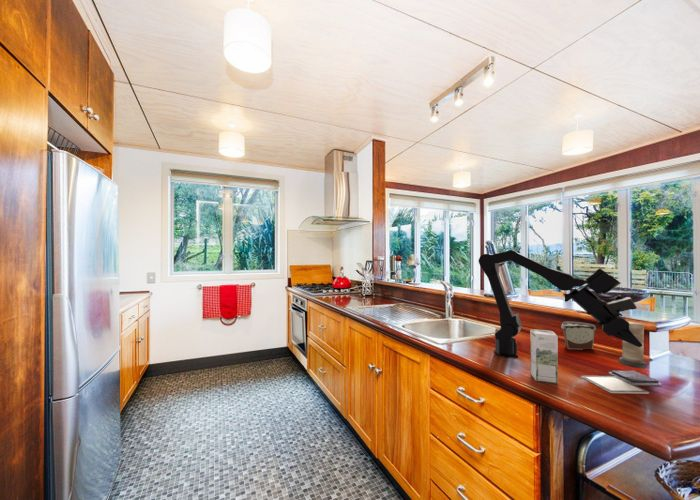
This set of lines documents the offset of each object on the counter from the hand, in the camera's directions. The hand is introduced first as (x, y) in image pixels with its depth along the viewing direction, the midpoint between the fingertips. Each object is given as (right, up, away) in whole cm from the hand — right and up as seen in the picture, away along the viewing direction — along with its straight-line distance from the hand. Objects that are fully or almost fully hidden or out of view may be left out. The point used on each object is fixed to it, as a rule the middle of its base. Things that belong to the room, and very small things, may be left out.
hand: (639, 344), depth 85 cm
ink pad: (-1, -11, +1) cm, 11 cm away
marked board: (-11, -11, -3) cm, 16 cm away
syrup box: (-29, -11, +1) cm, 31 cm away
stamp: (-1, -6, +1) cm, 7 cm away
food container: (+6, -12, +32) cm, 35 cm away
